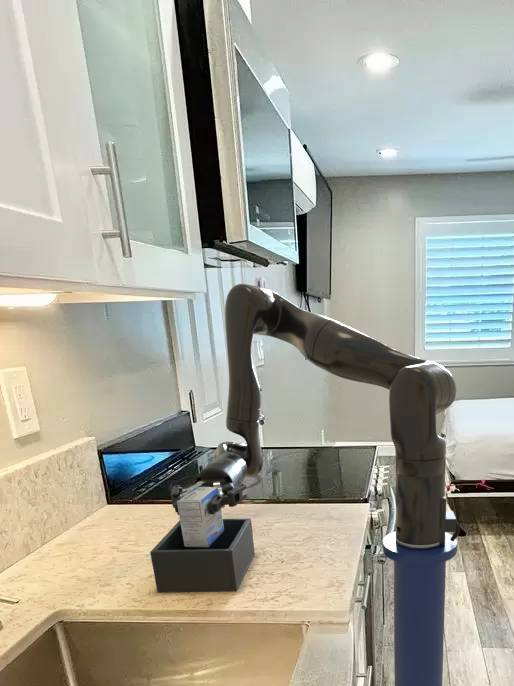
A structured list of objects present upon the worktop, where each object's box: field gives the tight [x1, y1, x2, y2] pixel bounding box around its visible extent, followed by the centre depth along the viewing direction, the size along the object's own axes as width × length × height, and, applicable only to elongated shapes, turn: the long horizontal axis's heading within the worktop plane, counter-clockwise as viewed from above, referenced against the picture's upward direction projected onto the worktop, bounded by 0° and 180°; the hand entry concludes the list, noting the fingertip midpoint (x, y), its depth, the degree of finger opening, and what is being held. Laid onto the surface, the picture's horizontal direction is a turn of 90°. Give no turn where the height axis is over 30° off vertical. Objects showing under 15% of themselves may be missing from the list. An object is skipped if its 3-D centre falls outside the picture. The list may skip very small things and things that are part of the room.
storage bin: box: [149, 518, 256, 594], centre depth 103 cm, size 14×16×8 cm
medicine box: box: [177, 487, 224, 548], centre depth 100 cm, size 8×4×9 cm, turn 172°
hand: (195, 509), depth 97 cm, fingers closed on medicine box, 5 cm apart
